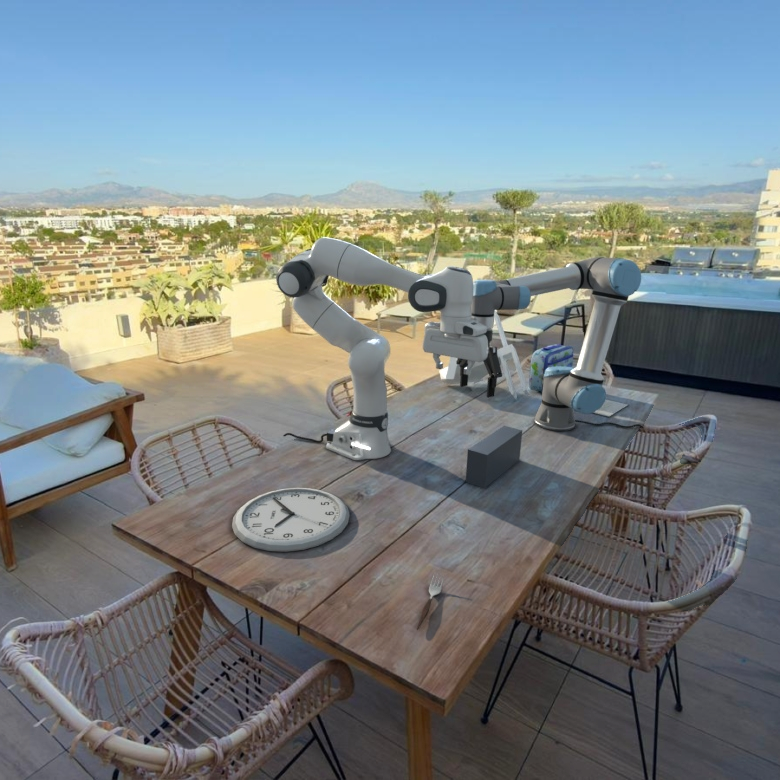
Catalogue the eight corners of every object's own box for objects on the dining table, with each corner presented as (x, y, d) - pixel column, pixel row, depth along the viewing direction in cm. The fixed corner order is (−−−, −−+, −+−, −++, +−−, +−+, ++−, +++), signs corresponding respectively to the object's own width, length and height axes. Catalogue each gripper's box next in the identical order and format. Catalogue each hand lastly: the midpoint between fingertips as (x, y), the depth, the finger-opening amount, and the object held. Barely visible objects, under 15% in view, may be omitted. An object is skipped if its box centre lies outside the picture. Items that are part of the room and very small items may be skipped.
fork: (410, 630, 99) (410, 621, 98) (433, 579, 113) (433, 571, 113) (423, 633, 98) (424, 625, 97) (444, 582, 112) (445, 574, 112)
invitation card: (608, 416, 214) (573, 407, 224) (608, 416, 214) (573, 408, 224) (628, 404, 229) (594, 396, 238) (628, 405, 229) (594, 397, 238)
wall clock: (350, 543, 123) (219, 547, 120) (350, 549, 123) (220, 553, 121) (349, 483, 151) (243, 486, 149) (349, 488, 152) (243, 491, 149)
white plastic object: (461, 429, 252) (437, 405, 227) (444, 352, 274) (420, 323, 250) (535, 404, 240) (518, 377, 215) (510, 326, 262) (492, 293, 237)
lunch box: (545, 397, 238) (550, 352, 231) (524, 391, 245) (529, 348, 239) (572, 386, 255) (578, 344, 249) (552, 381, 262) (557, 340, 256)
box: (501, 454, 176) (504, 425, 173) (519, 460, 173) (522, 430, 170) (465, 481, 157) (467, 449, 154) (484, 488, 154) (487, 455, 151)
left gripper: (419, 322, 154) (417, 367, 158) (481, 331, 142) (478, 379, 146) (430, 319, 159) (429, 363, 163) (492, 327, 147) (488, 375, 151)
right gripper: (448, 323, 177) (445, 383, 184) (499, 336, 157) (493, 403, 163) (465, 321, 181) (461, 380, 187) (517, 334, 161) (511, 399, 167)
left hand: (452, 371), depth 154 cm, fingers open, 8 cm apart
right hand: (476, 391), depth 176 cm, fingers open, 13 cm apart
